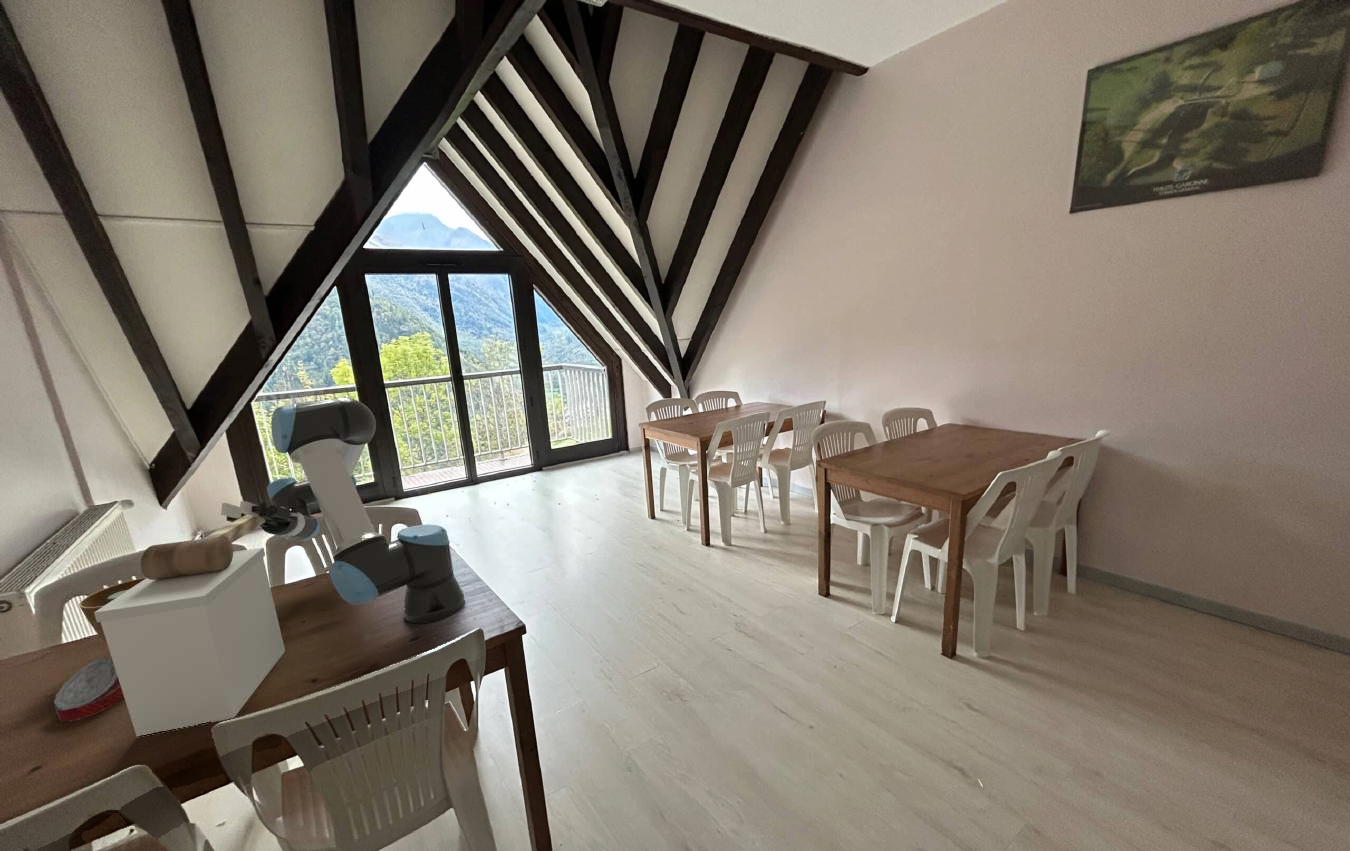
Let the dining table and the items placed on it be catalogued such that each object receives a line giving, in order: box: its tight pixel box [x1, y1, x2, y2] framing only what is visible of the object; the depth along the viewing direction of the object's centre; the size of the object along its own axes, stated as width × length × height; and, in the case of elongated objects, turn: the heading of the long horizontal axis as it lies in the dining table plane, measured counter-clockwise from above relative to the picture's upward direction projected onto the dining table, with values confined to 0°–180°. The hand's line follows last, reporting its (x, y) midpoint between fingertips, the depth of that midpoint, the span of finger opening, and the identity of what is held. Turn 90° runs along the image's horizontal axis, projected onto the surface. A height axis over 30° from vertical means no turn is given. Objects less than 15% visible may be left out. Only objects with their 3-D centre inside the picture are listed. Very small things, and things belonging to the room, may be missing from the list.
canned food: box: [53, 656, 124, 722], centre depth 108 cm, size 11×10×10 cm
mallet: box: [140, 514, 266, 580], centre depth 117 cm, size 30×12×7 cm, turn 15°
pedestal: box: [94, 547, 286, 737], centre depth 108 cm, size 22×17×27 cm
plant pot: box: [78, 576, 146, 646], centre depth 126 cm, size 15×15×16 cm
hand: (232, 507), depth 122 cm, fingers closed on mallet, 3 cm apart
